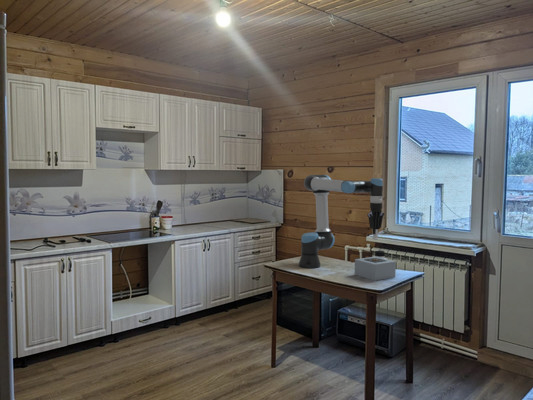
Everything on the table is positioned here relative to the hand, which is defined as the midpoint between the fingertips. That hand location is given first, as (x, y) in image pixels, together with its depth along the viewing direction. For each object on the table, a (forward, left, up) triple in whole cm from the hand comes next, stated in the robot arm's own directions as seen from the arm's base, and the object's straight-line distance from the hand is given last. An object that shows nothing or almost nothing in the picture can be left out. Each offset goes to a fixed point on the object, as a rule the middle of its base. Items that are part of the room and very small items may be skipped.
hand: (375, 239), depth 270 cm
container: (-11, +16, -24) cm, 31 cm away
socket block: (0, 0, -24) cm, 24 cm away
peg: (0, 0, -22) cm, 22 cm away
